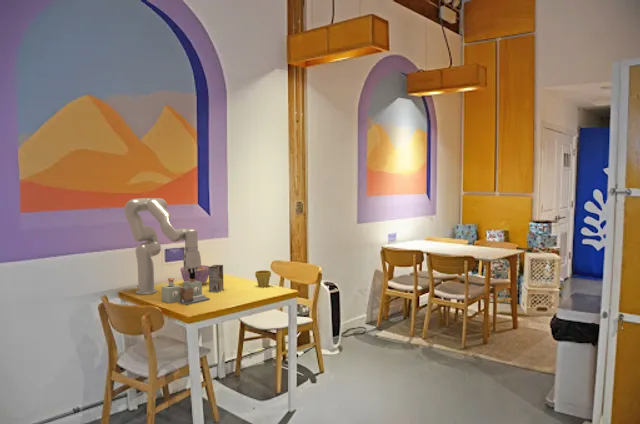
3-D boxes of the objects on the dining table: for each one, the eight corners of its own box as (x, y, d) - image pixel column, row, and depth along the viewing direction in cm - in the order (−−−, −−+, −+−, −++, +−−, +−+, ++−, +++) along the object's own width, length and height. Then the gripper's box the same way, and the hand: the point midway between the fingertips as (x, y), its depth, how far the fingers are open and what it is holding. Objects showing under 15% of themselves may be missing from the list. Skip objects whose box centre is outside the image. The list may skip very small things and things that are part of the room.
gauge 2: (188, 289, 321) (188, 278, 320) (193, 288, 324) (192, 278, 323) (191, 290, 319) (191, 279, 318) (196, 289, 321) (196, 278, 321)
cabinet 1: (161, 301, 310) (161, 286, 309) (173, 298, 316) (173, 284, 315) (169, 303, 304) (169, 288, 304) (181, 300, 310) (181, 286, 310)
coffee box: (214, 288, 342) (214, 264, 340) (223, 289, 340) (223, 264, 339) (208, 291, 333) (208, 267, 331) (218, 292, 331) (217, 267, 330)
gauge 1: (167, 290, 309) (166, 278, 309) (172, 289, 312) (171, 277, 311) (170, 291, 307) (170, 279, 307) (175, 290, 310) (175, 278, 309)
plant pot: (253, 287, 344) (253, 273, 343) (258, 284, 354) (257, 270, 354) (268, 288, 342) (268, 273, 342) (272, 284, 353) (272, 270, 352)
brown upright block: (180, 300, 305) (179, 287, 305) (187, 299, 309) (186, 286, 308) (186, 302, 301) (185, 289, 301) (193, 300, 305) (192, 287, 304)
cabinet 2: (183, 296, 321) (182, 282, 320) (194, 294, 327) (193, 280, 326) (191, 298, 316) (191, 284, 315) (202, 296, 322) (201, 282, 321)
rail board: (177, 302, 306) (177, 298, 306) (200, 297, 318) (200, 293, 318) (186, 305, 300) (186, 300, 300) (209, 299, 312) (209, 295, 312)
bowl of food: (174, 285, 351) (173, 268, 350) (195, 280, 368) (195, 264, 367) (195, 289, 340) (195, 271, 340) (216, 283, 357) (216, 266, 357)
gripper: (184, 251, 311) (185, 281, 312) (205, 248, 322) (206, 277, 324) (177, 250, 316) (178, 280, 317) (198, 247, 327) (198, 276, 329)
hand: (192, 278), depth 321 cm, fingers closed
